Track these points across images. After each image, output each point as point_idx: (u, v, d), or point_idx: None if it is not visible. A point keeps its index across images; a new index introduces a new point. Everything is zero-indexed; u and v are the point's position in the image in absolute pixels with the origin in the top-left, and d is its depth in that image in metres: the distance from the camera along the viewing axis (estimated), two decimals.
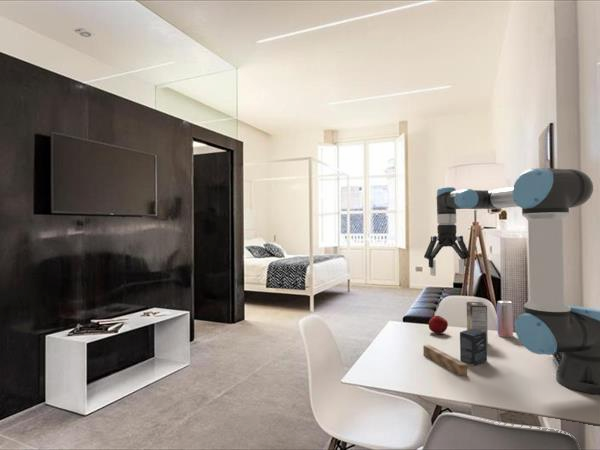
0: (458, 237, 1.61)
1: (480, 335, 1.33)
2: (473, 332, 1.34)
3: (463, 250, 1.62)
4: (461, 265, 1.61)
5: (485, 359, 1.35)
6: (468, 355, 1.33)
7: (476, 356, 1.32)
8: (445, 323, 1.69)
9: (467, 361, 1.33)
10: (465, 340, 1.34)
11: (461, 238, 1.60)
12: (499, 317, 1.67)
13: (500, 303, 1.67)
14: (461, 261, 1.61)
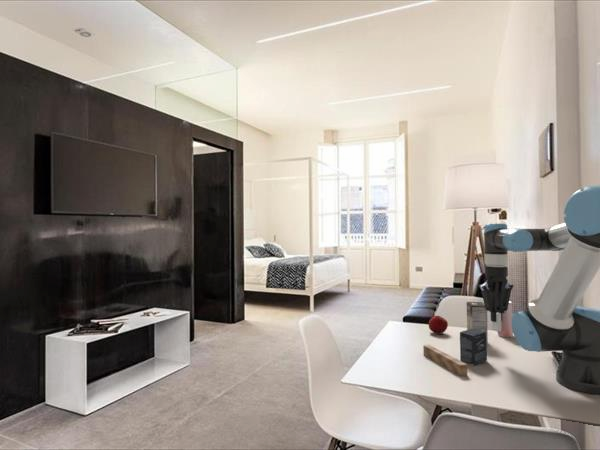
0: (508, 284, 1.39)
1: (480, 335, 1.33)
2: (473, 332, 1.34)
3: (504, 300, 1.39)
4: None
5: (485, 359, 1.35)
6: (468, 355, 1.33)
7: (476, 356, 1.32)
8: (445, 323, 1.69)
9: (467, 361, 1.33)
10: (465, 340, 1.34)
11: (510, 287, 1.38)
12: None
13: None
14: None
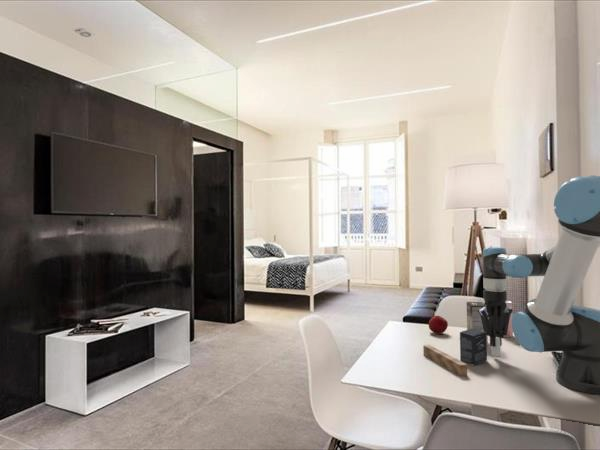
0: (507, 308, 1.38)
1: (480, 335, 1.33)
2: (473, 332, 1.34)
3: (503, 324, 1.38)
4: None
5: (485, 359, 1.35)
6: (468, 355, 1.33)
7: (476, 356, 1.32)
8: (445, 323, 1.69)
9: (467, 361, 1.33)
10: (465, 340, 1.34)
11: (510, 311, 1.38)
12: None
13: None
14: None
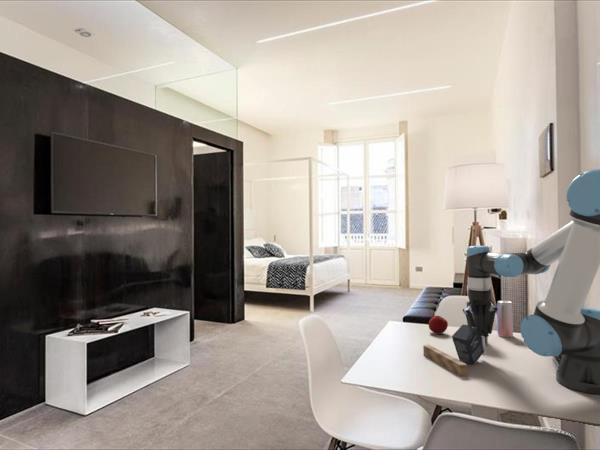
0: (492, 307, 1.38)
1: (472, 334, 1.31)
2: (464, 333, 1.32)
3: (488, 323, 1.38)
4: None
5: (482, 351, 1.35)
6: (465, 356, 1.32)
7: (474, 355, 1.31)
8: (445, 323, 1.69)
9: (466, 361, 1.33)
10: (459, 344, 1.32)
11: (495, 309, 1.37)
12: (499, 317, 1.67)
13: (500, 303, 1.67)
14: (481, 339, 1.37)
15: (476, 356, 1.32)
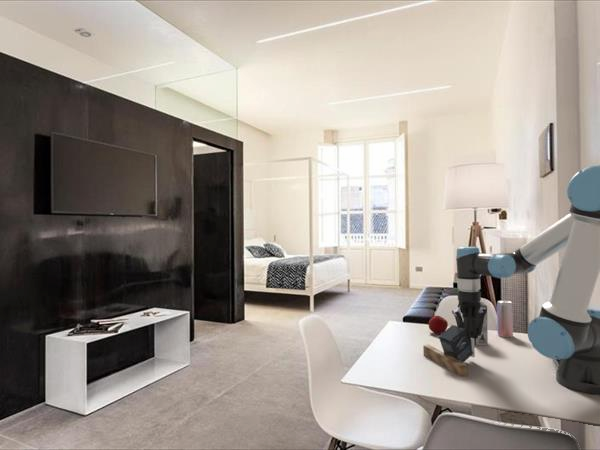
0: (482, 308, 1.37)
1: (458, 335, 1.30)
2: (451, 334, 1.31)
3: (477, 325, 1.36)
4: (470, 345, 1.35)
5: (471, 353, 1.33)
6: None
7: (460, 356, 1.31)
8: (445, 323, 1.69)
9: None
10: (445, 344, 1.32)
11: (484, 311, 1.36)
12: (499, 317, 1.67)
13: (500, 303, 1.67)
14: None
15: (463, 357, 1.31)
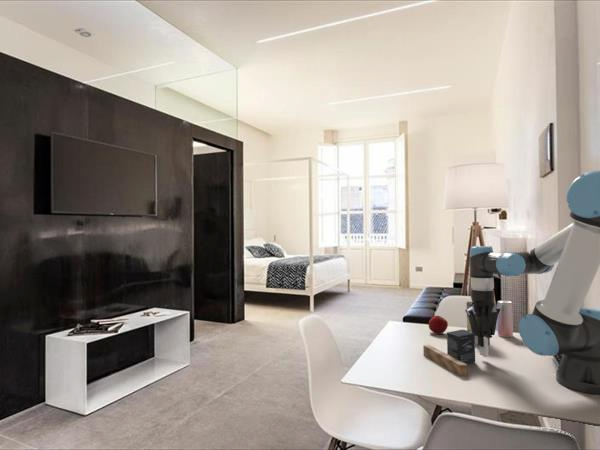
0: (495, 308, 1.37)
1: (467, 336, 1.32)
2: (460, 333, 1.33)
3: (491, 324, 1.37)
4: None
5: (473, 361, 1.33)
6: (454, 356, 1.32)
7: (462, 357, 1.31)
8: (445, 323, 1.69)
9: None
10: (451, 341, 1.33)
11: (497, 311, 1.36)
12: (499, 317, 1.67)
13: (500, 303, 1.67)
14: None
15: (465, 360, 1.32)
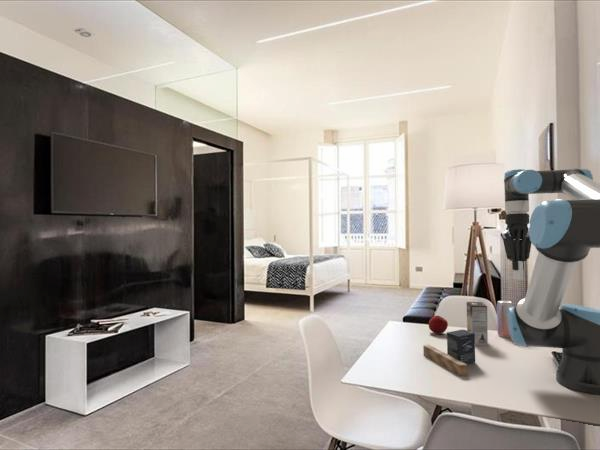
0: (529, 232, 1.37)
1: (467, 336, 1.32)
2: (460, 333, 1.33)
3: (525, 249, 1.37)
4: None
5: (473, 361, 1.33)
6: (454, 356, 1.32)
7: (462, 357, 1.31)
8: (445, 323, 1.69)
9: None
10: (451, 341, 1.33)
11: None
12: (499, 317, 1.67)
13: (500, 303, 1.67)
14: None
15: (465, 360, 1.32)
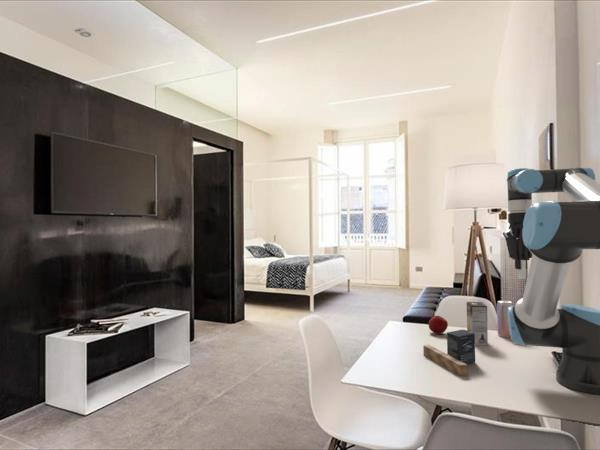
0: None
1: (467, 336, 1.32)
2: (460, 333, 1.33)
3: (528, 248, 1.37)
4: None
5: (473, 361, 1.33)
6: (454, 356, 1.32)
7: (462, 357, 1.31)
8: (445, 323, 1.69)
9: None
10: (451, 341, 1.33)
11: None
12: (499, 317, 1.67)
13: (500, 303, 1.67)
14: None
15: (465, 360, 1.32)
